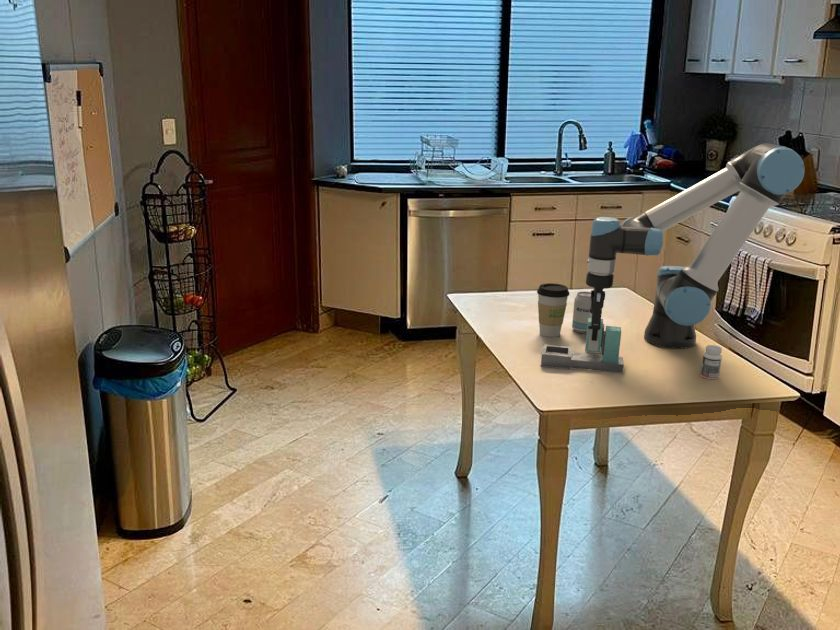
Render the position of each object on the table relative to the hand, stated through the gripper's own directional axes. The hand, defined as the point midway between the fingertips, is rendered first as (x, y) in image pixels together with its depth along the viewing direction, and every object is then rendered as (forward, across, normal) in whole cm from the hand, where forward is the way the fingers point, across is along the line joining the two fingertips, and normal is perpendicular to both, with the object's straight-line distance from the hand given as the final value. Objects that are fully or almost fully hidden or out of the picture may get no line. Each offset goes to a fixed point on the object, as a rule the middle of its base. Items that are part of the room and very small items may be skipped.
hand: (592, 342), depth 232 cm
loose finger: (+2, 0, 0) cm, 2 cm away
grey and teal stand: (+2, +14, -3) cm, 14 cm away
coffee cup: (+2, -11, -13) cm, 17 cm away
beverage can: (+2, -17, -3) cm, 17 cm away
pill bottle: (+2, +13, +31) cm, 34 cm away
